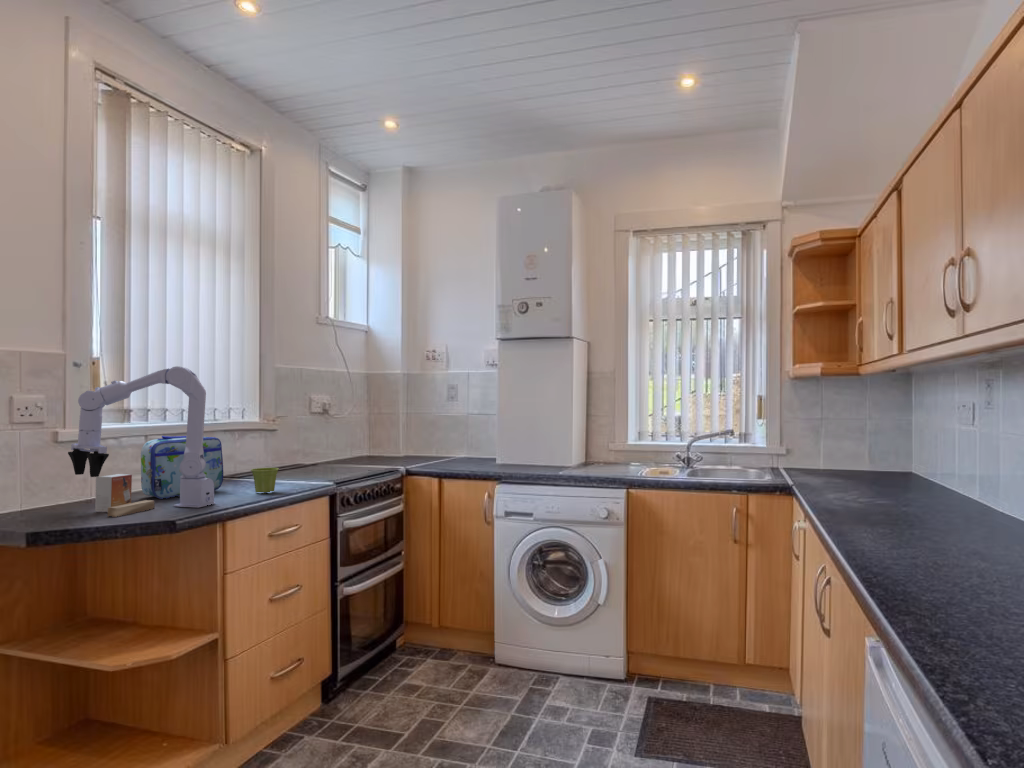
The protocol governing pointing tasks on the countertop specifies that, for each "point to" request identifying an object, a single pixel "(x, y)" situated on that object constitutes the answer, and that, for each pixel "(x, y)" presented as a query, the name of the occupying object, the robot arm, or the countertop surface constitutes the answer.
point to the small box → (112, 491)
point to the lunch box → (175, 465)
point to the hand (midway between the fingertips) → (86, 475)
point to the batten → (130, 508)
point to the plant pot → (264, 479)
